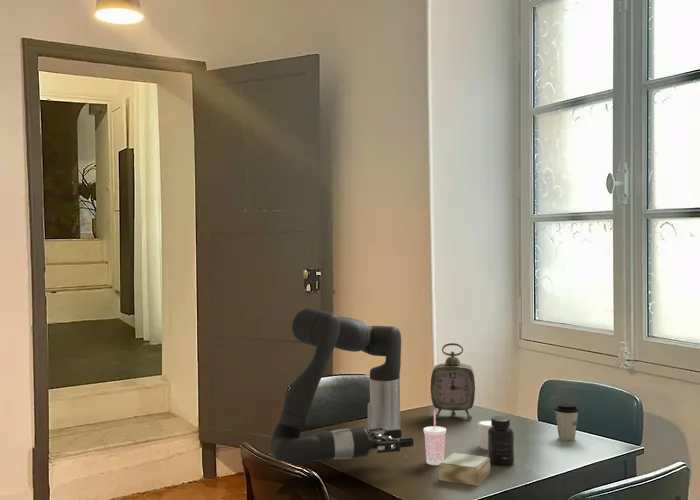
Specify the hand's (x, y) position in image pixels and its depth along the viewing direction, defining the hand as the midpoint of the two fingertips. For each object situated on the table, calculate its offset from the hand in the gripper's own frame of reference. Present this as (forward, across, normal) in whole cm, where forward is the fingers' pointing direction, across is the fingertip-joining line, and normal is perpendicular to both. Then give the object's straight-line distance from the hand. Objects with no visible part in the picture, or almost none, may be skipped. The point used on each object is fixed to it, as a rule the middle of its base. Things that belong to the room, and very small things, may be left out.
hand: (406, 437), depth 192 cm
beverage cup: (+8, 0, +8) cm, 11 cm away
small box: (+10, -14, +8) cm, 19 cm away
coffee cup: (+54, +8, +8) cm, 55 cm away
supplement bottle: (+24, -6, +8) cm, 26 cm away
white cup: (+28, +8, +8) cm, 31 cm away
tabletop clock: (+33, +42, +8) cm, 55 cm away
